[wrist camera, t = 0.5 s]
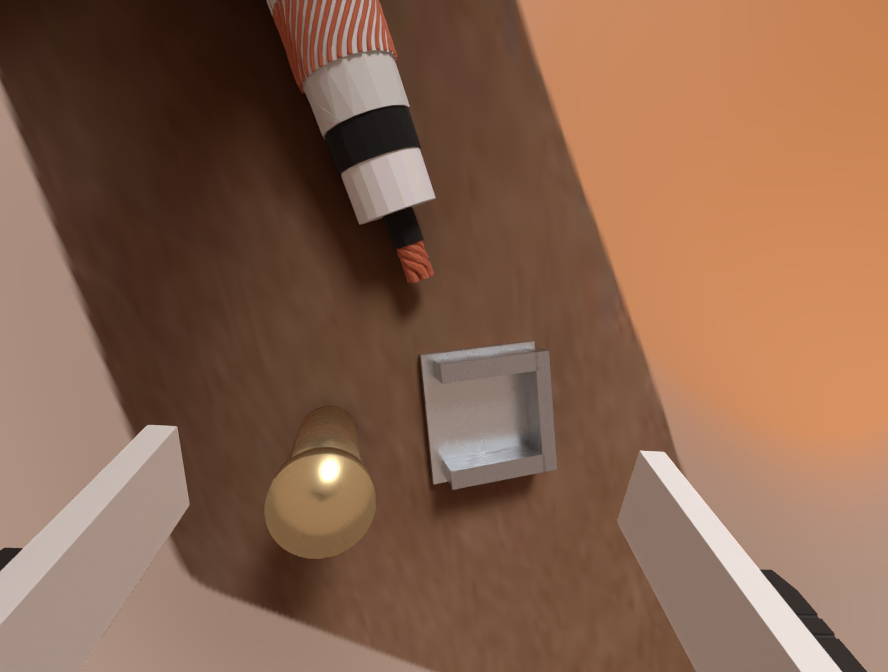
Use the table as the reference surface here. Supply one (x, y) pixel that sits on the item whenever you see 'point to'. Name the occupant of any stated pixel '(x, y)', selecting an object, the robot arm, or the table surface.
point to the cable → (361, 113)
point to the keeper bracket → (488, 413)
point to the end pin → (321, 489)
